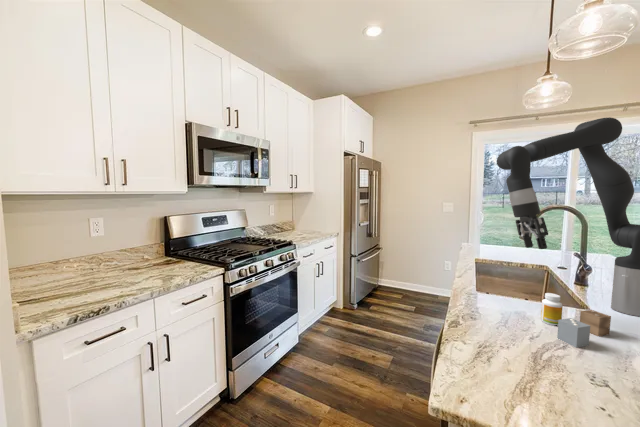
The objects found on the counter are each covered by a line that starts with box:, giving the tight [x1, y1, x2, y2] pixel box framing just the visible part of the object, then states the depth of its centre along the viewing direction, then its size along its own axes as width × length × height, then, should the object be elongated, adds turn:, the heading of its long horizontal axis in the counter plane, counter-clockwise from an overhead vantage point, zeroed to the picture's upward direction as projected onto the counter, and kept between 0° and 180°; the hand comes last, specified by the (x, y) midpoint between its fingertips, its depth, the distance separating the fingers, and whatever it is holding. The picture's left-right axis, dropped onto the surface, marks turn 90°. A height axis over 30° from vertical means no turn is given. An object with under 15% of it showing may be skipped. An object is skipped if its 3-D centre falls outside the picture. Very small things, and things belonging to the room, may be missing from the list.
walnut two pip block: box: [579, 309, 612, 337], centre depth 86 cm, size 5×5×6 cm
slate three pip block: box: [556, 317, 591, 349], centre depth 80 cm, size 5×5×6 cm
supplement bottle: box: [540, 292, 564, 327], centre depth 92 cm, size 5×5×10 cm
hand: (536, 248), depth 94 cm, fingers open, 8 cm apart
